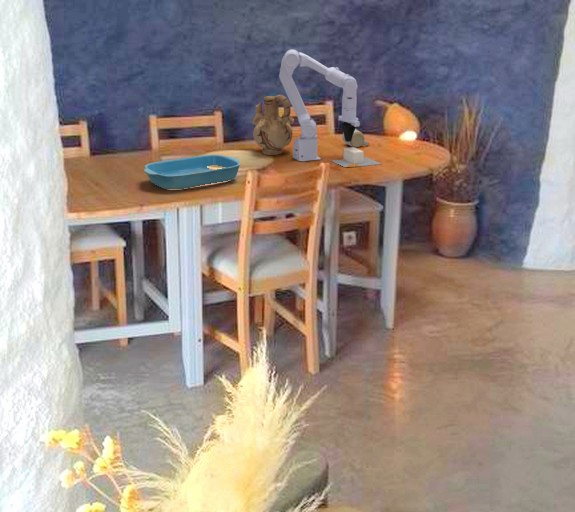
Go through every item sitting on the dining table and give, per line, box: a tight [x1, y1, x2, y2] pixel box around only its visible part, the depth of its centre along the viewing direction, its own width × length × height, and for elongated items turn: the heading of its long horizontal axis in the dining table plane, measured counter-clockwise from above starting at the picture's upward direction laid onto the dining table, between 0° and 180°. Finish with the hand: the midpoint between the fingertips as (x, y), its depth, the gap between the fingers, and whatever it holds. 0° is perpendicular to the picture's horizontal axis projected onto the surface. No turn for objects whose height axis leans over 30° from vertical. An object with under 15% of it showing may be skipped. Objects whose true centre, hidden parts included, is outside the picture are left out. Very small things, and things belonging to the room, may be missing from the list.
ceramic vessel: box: [250, 94, 295, 156], centre depth 366 cm, size 18×19×25 cm
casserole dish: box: [143, 154, 241, 190], centre depth 324 cm, size 37×22×7 cm, turn 124°
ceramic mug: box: [342, 128, 369, 149], centre depth 383 cm, size 11×8×8 cm
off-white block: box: [342, 146, 365, 164], centre depth 356 cm, size 4×4×9 cm
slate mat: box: [331, 156, 382, 168], centre depth 354 cm, size 16×12×1 cm
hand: (348, 141), depth 358 cm, fingers closed
